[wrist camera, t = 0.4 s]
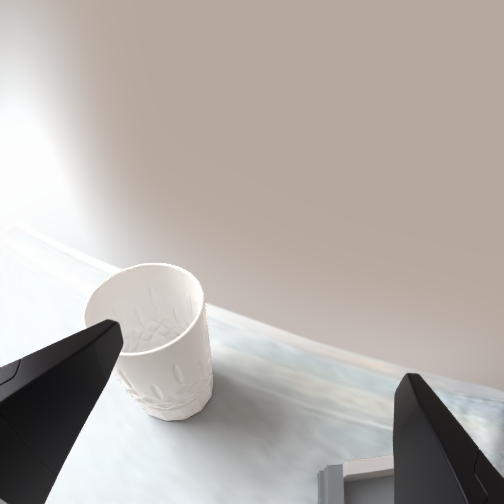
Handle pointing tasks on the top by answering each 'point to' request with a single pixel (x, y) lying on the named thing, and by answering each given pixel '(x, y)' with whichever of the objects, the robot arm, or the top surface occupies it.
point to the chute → (358, 482)
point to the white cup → (158, 337)
